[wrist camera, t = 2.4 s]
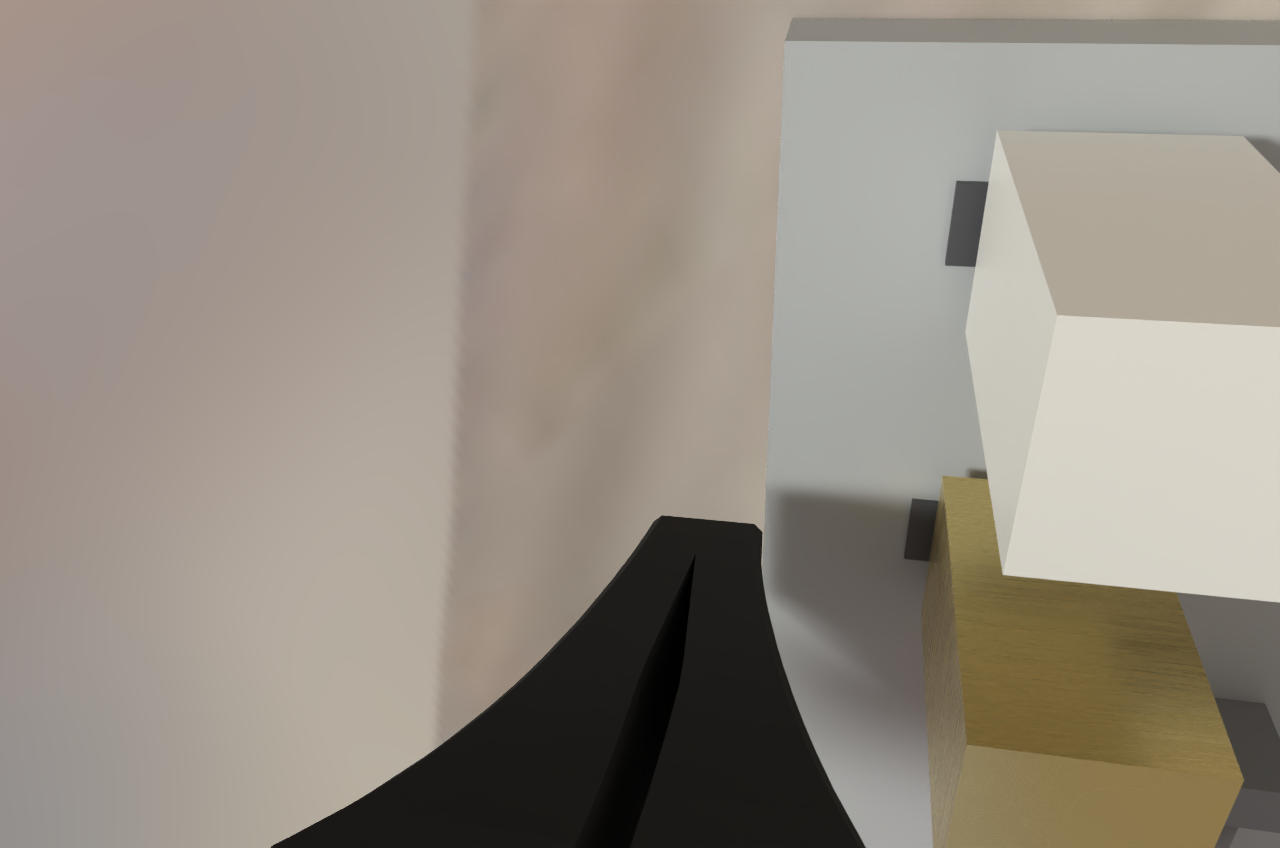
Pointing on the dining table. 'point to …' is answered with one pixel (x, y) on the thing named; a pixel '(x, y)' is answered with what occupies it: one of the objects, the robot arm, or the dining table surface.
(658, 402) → the dining table surface
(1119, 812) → the brass slider
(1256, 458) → the white slider
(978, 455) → the panel
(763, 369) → the dining table surface
